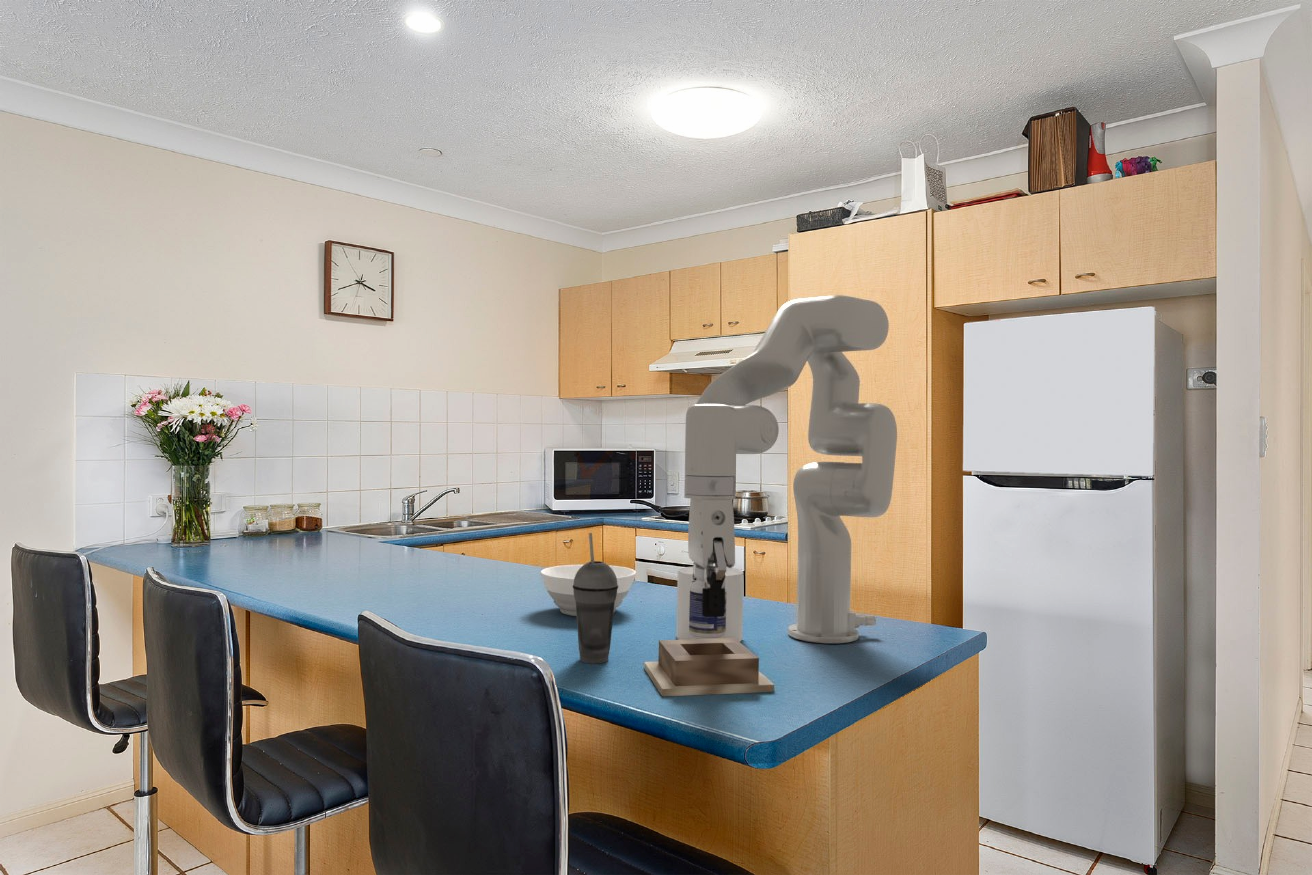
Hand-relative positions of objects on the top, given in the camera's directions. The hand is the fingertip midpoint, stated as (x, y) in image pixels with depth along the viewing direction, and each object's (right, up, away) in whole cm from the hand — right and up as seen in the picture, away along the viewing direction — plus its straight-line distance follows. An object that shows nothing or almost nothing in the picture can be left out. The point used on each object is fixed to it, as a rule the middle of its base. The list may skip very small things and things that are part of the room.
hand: (707, 610), depth 120 cm
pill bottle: (0, -4, 0) cm, 4 cm away
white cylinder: (+2, -11, +26) cm, 28 cm away
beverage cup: (-17, -10, +10) cm, 22 cm away
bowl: (-21, -10, +47) cm, 52 cm away
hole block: (0, -10, 0) cm, 10 cm away
